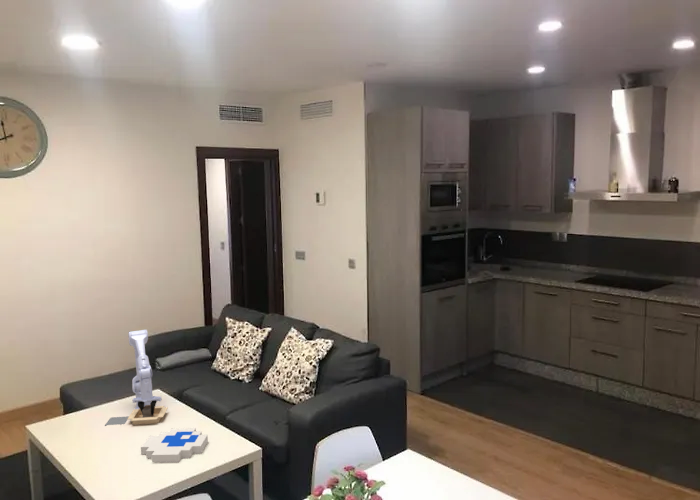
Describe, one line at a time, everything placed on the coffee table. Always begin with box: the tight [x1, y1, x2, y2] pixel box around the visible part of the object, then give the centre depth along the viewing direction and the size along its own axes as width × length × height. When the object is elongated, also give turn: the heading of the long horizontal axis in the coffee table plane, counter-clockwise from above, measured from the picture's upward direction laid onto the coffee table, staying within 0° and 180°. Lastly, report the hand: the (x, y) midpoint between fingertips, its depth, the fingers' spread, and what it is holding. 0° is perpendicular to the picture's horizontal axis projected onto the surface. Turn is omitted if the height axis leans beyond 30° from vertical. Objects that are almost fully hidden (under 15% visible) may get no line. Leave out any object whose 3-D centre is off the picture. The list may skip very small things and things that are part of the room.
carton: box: [127, 405, 169, 425], centre depth 311 cm, size 18×18×4 cm
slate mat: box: [104, 415, 130, 427], centre depth 310 cm, size 10×10×1 cm
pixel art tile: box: [140, 427, 209, 463], centre depth 277 cm, size 28×4×28 cm
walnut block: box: [142, 405, 154, 418], centre depth 311 cm, size 7×4×6 cm, turn 6°
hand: (148, 414), depth 311 cm, fingers closed on walnut block, 4 cm apart
